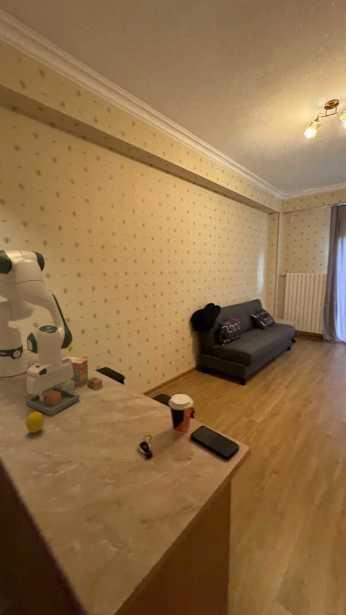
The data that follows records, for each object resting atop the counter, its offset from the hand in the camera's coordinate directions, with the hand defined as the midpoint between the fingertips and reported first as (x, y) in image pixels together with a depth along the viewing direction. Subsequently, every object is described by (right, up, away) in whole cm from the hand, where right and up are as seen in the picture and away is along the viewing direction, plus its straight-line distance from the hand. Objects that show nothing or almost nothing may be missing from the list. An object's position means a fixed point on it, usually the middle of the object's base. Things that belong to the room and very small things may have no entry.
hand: (52, 395), depth 114 cm
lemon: (+3, -7, -19) cm, 20 cm away
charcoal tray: (0, -4, +1) cm, 4 cm away
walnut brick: (+13, -1, +16) cm, 21 cm away
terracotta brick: (0, -3, +1) cm, 3 cm away
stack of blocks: (-3, 0, +22) cm, 22 cm away
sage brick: (+1, -2, +12) cm, 13 cm away
